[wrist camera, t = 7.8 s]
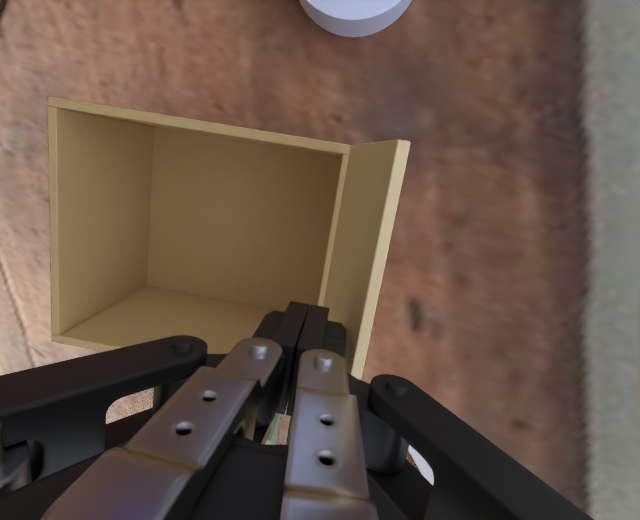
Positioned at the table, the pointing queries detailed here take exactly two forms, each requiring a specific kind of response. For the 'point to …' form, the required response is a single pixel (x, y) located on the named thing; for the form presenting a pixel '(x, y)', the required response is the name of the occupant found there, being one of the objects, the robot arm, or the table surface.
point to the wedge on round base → (354, 15)
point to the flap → (363, 241)
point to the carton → (182, 225)
